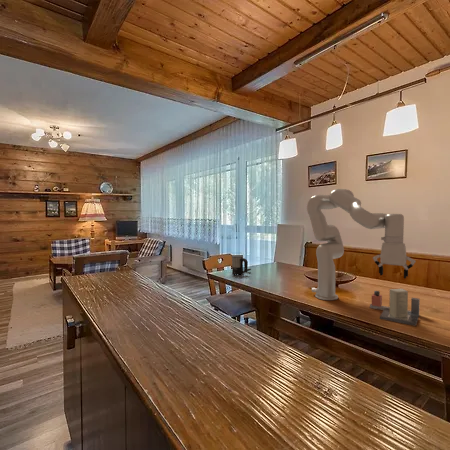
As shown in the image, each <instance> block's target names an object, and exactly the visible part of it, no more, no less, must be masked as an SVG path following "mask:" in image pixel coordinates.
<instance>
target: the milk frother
mask: <svg viewBox="0 0 450 450" xmlns="http://www.w3.org/2000/svg"><path fill="white" fill-rule="evenodd" d="M248 262H249V261H248V260H247V258H245V257H244V256H243V255H231V266H232V268H231V269H232V270H231V271H232V273H231V275H232V274H243V275H244V273H247V272H249V271H251V270H252V268H248V267H249V264H248Z"/></svg>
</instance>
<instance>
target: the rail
mask: <svg viewBox="0 0 450 450" xmlns="http://www.w3.org/2000/svg"><path fill="white" fill-rule="evenodd" d="M410 301H411V302H410V305H411V306H410V310H409V309H408V315H413V316H418V318H420V298H418V297H417V298H416V297H411V299H410ZM369 309H374V310H381V311H384V310H386V311H389V306H385V305H381V307H379V306H373V305H372V303H370V304H369Z"/></svg>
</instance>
